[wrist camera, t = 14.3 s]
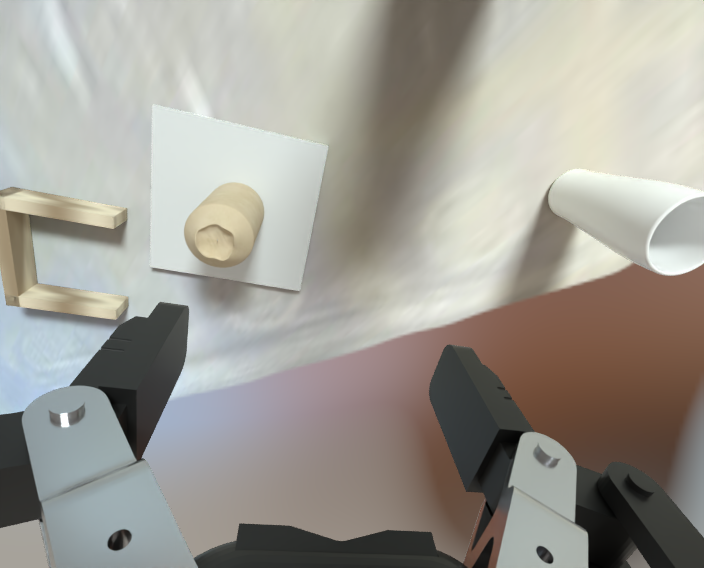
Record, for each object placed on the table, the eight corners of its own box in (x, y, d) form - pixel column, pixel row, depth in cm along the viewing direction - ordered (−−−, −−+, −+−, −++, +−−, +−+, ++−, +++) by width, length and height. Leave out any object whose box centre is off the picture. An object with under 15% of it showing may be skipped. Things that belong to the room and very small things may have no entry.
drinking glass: (534, 223, 44) (633, 280, 30) (545, 161, 41) (661, 194, 27) (590, 220, 44) (712, 274, 31) (606, 159, 41) (748, 190, 28)
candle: (251, 173, 37) (233, 198, 29) (273, 225, 40) (262, 262, 31) (198, 191, 38) (164, 221, 29) (223, 241, 40) (199, 283, 31)
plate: (155, 104, 35) (152, 104, 34) (328, 145, 38) (328, 146, 37) (152, 263, 41) (149, 267, 41) (300, 287, 44) (299, 291, 44)
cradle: (26, 291, 41) (6, 305, 39) (11, 187, 37) (-12, 194, 34) (128, 305, 43) (116, 319, 40) (127, 208, 38) (113, 216, 36)
